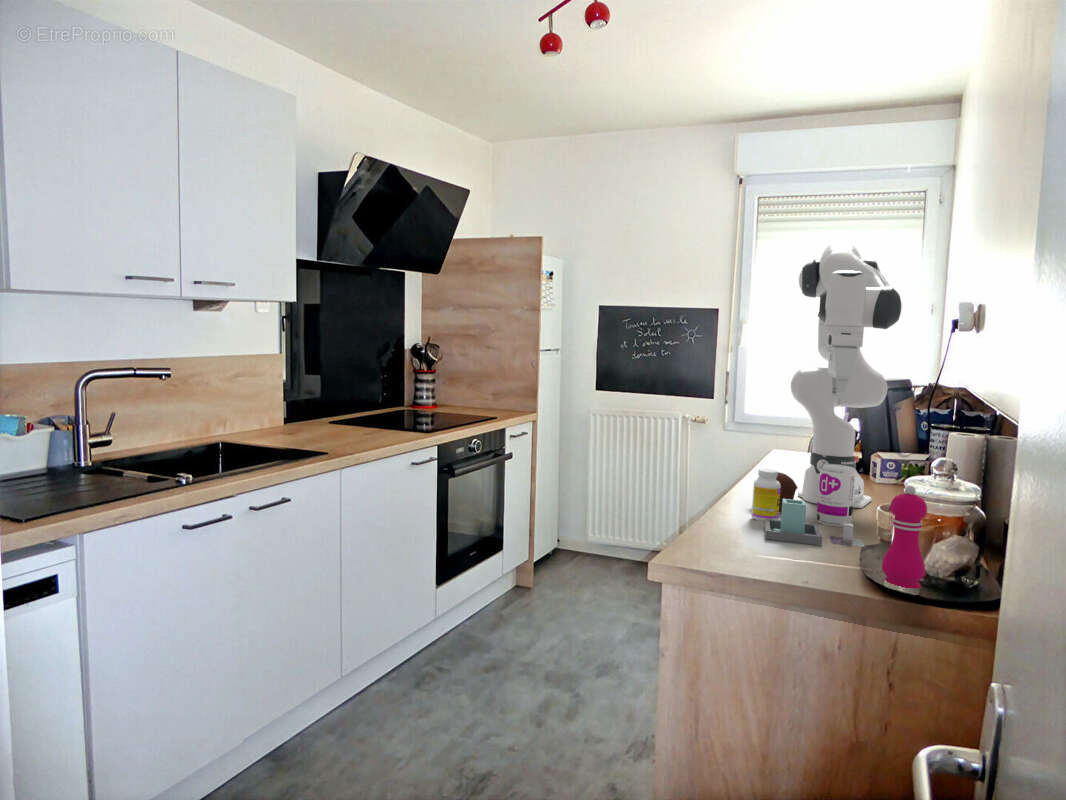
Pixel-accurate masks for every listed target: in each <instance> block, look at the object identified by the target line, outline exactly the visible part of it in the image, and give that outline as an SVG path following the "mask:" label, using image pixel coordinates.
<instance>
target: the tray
mask: <svg viewBox="0 0 1066 800" xmlns="http://www.w3.org/2000/svg"><path fill="white" fill-rule="evenodd" d="M780 526H781V519H778V520H771V519H765V521H764V538H765V541H773V542H778V543H779V542H780V543H781V542H782V543H791V544H797V545H807V546H815V547H822V542H823V536H822V533H821V531H820V527H819V525H818V524H815V523H807V522H805V530H804V534H801V533H792V532H783V531H774V528H775V529H780Z"/></svg>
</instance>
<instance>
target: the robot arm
mask: <svg viewBox="0 0 1066 800" xmlns="http://www.w3.org/2000/svg"><path fill="white" fill-rule="evenodd" d="M799 273H800V274H799V276H798V285H799V288H800V291H801V293H802V294H803V295H804V296H805V297H808V298H815V299H816V297H817V298H819V310H818V314H817V317H818V330H817V332H818V335H817V337H818V338H817V350H818V352H819V355H820V356H821V357H822V358H823V359H824V360H825V361H827V362H828V365H827V367H815V366H814V367H809V368H808V367H807V368H802V369H799V370H798V371H796V372H795V373H794V375H793V376H792V378H791V382H790V389H791V395H792V397H793V398H794V399H795V400H796V401H797V402H798V403H799V404H801V406H803V408H804V409H805V410H806V411H807V413H808V415H809V416H810V420H811V422H812V428H813V429H812V430H813V431H812V432H813V445H812V451H811V452H810V456H809V461H810V462H809V463H810V466H809V467H808V468H807V469H806V470H805V471H804V472H805V473H804V478H803V484H802V491H799V492H798V493H797V497H800V498H802V500H803V501H805V502H809V503H813V504H816V505H817V502H818V489H819V477H820V470H821V468H822V467H823V465H824V464H838V465H846V466H850V467H852V468H853V471H854V473H855V482H854V494H853V506H852V508H858V509H862V508H864V507H866V505H868V504H869V503H870V502H872V496H869V495H866V494H864V489H865V481H864V479H863V478H862V477H861V475H860V474H859V473H858V471H857V469H856V468H857V465H856V463H858V462H859V461H860V457H859V455H855V443H856V430H855V427H854V426H853V425H852V423H850V422H848V421H846V420H845V419H844V418H841V417H840V416H838V415H836V413H835V408H837V407H841V408H856V409H857V408H859V409H862V408H863V409H864V408H865V409H866V408H873V407H879V406H880V405H881V404H883V402H884V401H885V399H886V397H887V395H888V383H887V380H886V379H885V376H883V374H882V373H880V372H879V371H878V370H876V369H874V368H873V367H872V366H871V365H870V364H869V363H868V362H867V361H866V359H865V358H864V356H863V354H862V351H861V348H863V343H864V333H865V332H864V331H865V328H873V329H881V330H882V329H883V330H887V329H889V328H891V327H892V326H894V325H895V324H896V323H897V322H898V321H899V320H900V317H901V314H902V306H903V305H902V300H901V295H900V293H899V292H898V291H897V290H896V289H895V288H893V287H892V286H891V285H890V284H889V282H888V281H887V280H886V278H885V277H884V275H883V274H882V273H881V270H880V267H879V265H878V262H876V260H874V259H870V258H863V259H862V257H861V253H859V251H858V249H857V248H856V247H855V246H854V245H853V244H851V243H850V242H847V241H843V240H841V241H836V242H833V243H831V244H829V246H827V247H826V248H825V250H824V251H823V253H822V255H821V258H820V260H816V259H813V261H811V262H808V263H805V265H803V266H802V268H801V271H800V272H799Z"/></svg>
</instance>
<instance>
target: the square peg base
mask: <svg viewBox="0 0 1066 800" xmlns="http://www.w3.org/2000/svg"><path fill="white" fill-rule="evenodd" d="M854 529H855V527H854V524H853V523H851V524H848V523H843V527H842V535H841V536H833V535H829V539H830V541H831V544H832V545H840V546H841V545H842V546H849V547H858V548H859V547H860V548H863V547H862V546H864V545H865V543H864V542H863V540H862V539H860V538H854Z"/></svg>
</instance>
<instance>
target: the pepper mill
mask: <svg viewBox="0 0 1066 800" xmlns="http://www.w3.org/2000/svg"><path fill="white" fill-rule="evenodd" d="M916 491H917V490H916V488H915V487H914V486H913V485H907V486H906V487H905V488H904V493H900V494H897V495H896V496H894V497H893V499H892V500H891V501H890V511H891V513H892V515H893V516H894V517H893V518H892V523H891V526H892V527H893V537H892V541H891V543H890V546H889V547H888V549H887V551H886V552H885V554H884V556H883V558H882V561H881V562H882V563H881V569H882V572H883V573H884V574H885V576H886V577H884V578H885V580H886V581H887V582H889V583H891V584H894V585H897V586H901V587H905V588H915V589H916V588H920V587H922V585H921V583H919V581H921V580H922V579H923V578H924V577H925V575H926V566H925V565H926V564H925V560H924V558H923V555H922V553H921V549H920V545H919V544H920V543H919V536H920V531H922V530H923V526H922V525H924V524H923V523H924V522H923V521H922V520H923V519H924V518H925V517H926V515H927V512H928V506H927V503H926V501H925V499H923V498H922V497H921V496H919V495H917V494H916Z"/></svg>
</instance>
